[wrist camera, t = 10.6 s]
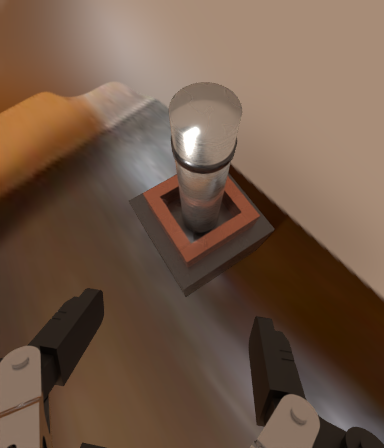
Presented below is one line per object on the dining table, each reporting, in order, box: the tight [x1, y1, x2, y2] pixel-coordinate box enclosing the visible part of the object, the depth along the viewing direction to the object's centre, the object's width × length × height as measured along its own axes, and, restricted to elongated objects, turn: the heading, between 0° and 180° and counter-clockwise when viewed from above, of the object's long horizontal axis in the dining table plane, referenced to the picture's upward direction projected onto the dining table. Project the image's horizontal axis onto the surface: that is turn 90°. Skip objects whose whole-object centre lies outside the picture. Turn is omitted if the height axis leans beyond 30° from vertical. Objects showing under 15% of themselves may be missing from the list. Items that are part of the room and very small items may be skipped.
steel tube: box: [169, 82, 242, 232], centre depth 18 cm, size 4×4×14 cm
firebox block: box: [129, 173, 275, 297], centre depth 28 cm, size 11×11×10 cm
